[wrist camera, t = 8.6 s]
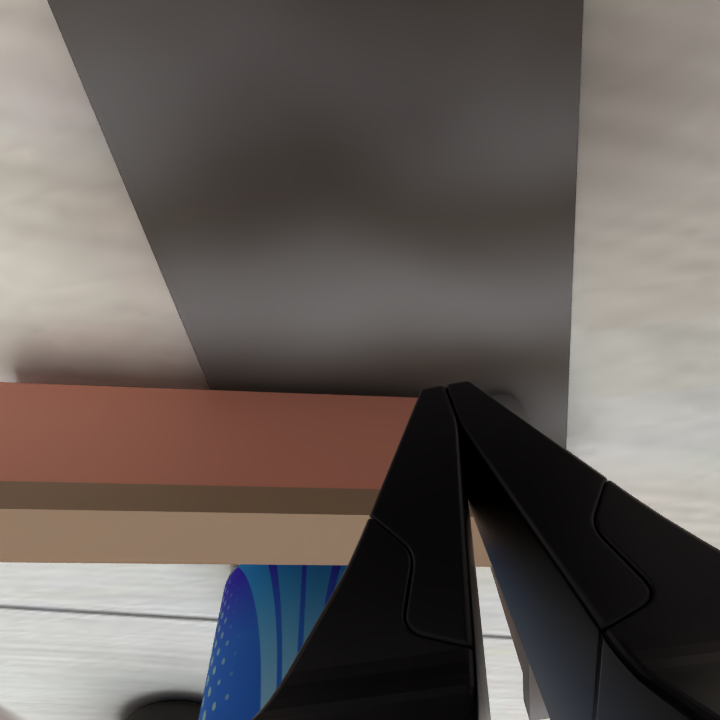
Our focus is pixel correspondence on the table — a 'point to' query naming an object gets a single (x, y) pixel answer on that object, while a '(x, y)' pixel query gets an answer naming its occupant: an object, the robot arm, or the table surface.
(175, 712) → the cola bottle
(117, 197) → the table surface
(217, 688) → the beer can
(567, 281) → the gate frame
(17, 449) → the bar
